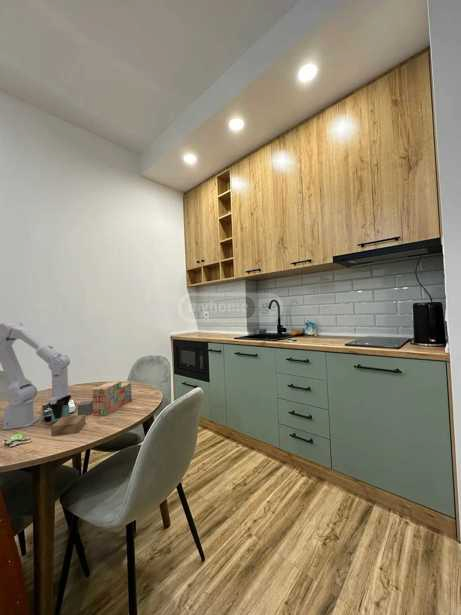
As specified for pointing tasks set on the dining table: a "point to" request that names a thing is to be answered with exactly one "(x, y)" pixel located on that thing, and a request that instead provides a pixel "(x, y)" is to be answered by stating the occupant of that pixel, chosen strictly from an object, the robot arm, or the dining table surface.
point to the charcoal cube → (85, 408)
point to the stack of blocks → (110, 397)
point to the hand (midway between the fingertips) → (60, 415)
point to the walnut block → (68, 425)
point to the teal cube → (64, 413)
